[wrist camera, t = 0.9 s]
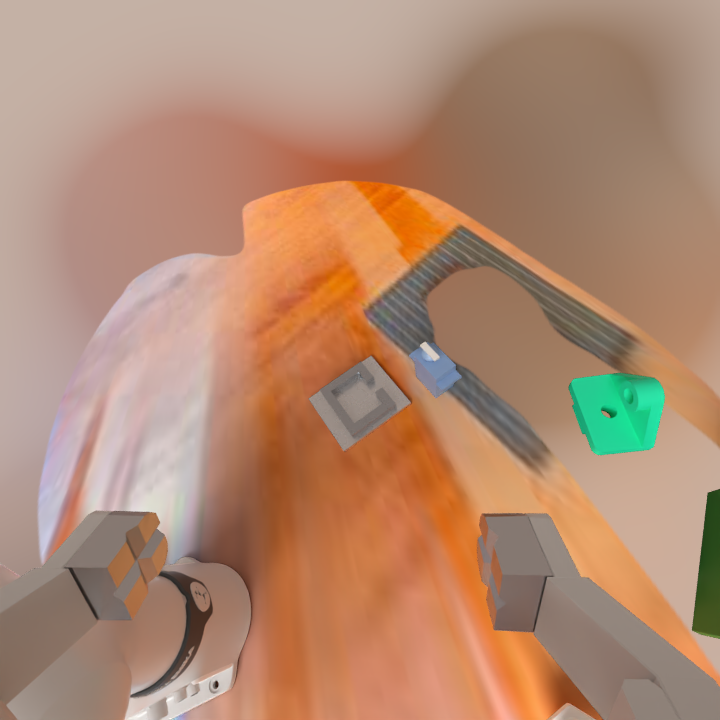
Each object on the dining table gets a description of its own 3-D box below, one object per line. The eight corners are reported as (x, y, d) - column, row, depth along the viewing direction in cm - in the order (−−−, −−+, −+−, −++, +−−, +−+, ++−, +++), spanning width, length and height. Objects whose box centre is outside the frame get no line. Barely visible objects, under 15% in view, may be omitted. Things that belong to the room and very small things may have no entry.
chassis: (344, 452, 65) (341, 448, 62) (309, 400, 70) (305, 394, 68) (411, 404, 67) (410, 398, 65) (371, 357, 73) (369, 351, 70)
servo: (441, 404, 66) (442, 381, 58) (411, 370, 70) (408, 345, 62) (459, 391, 66) (462, 367, 59) (428, 358, 71) (427, 331, 63)
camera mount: (564, 386, 64) (585, 355, 55) (613, 379, 63) (642, 348, 54) (591, 457, 58) (619, 436, 49) (645, 452, 57) (683, 429, 48)
